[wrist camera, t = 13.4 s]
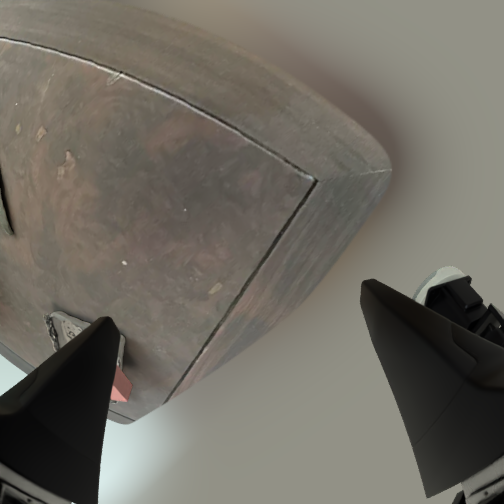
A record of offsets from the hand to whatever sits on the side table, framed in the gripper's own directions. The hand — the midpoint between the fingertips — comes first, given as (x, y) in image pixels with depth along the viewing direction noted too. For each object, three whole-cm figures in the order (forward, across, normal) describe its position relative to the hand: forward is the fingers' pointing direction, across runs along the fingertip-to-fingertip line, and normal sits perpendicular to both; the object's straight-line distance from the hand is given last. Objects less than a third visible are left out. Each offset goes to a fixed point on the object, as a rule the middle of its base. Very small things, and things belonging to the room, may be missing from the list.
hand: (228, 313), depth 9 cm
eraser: (+9, +17, +14) cm, 24 cm away
